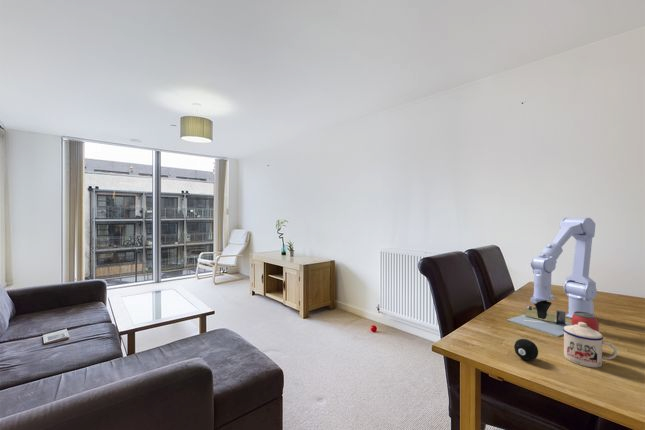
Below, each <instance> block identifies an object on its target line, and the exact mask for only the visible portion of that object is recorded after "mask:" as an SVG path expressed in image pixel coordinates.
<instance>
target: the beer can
mask: <svg viewBox="0 0 645 430" xmlns="http://www.w3.org/2000/svg"><path fill="white" fill-rule="evenodd" d="M579 322H583V323H586V324H587V327H590V328H591V329H593V330H595V331H597V332H599V331H600V327H599V326H600V323H599V320H598V319H597V315H595V314H591V313H586V312H579V311H576V312H574V314H573V316H572V318H571V324H572V325H578V323H579ZM599 333H600V332H599Z"/></svg>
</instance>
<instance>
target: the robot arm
mask: <svg viewBox="0 0 645 430" xmlns="http://www.w3.org/2000/svg"><path fill="white" fill-rule="evenodd" d="M559 228H560V229H559V231H558V233H557V234H556V236H555V238H554V239H553V241H552V242H551V243H547V244H546V245H545V247H544V248H543V250H542V251H541V252H540V254H539V255H538V256H536V257H533V258H532V260H531V262H530V267H531V269H532V274H533V295H532V297H530V300H529V301H530V303H533V305H534V307H536V309H537V315H538V318H541V319H545V318H546V314H547V312H548V311H549V309H550V307H551V306H552V302H553V301H555V297H554V295H553V294H552V273H553V272H554V271H555V270H556V267H557V260H558V259H559V257H560V256H561V254H562V253H563V252H564V251H563V246H564V245H565V244H566V243H567V242H568V240H569V239H570V238H571V237H573V239H575V245H574V254H573V255H574V256H573V263H572V264H573V266H572V274H570V275H568V276H566V277H565V282H564V283H563V286H562V287H563V288H562V289H563V291H564V293H565V294H566V296H567V297H568V313H567V314H565V318H570V319H572V316H573V314H574V312H576V311H579V312H586V313H591V314H594V310H595V309H594V306H595V305H594V301H593V300H594V299H595V298H596V297H597V296H598V295H597V294H598V290H597V285H596V284H597V282H595V280H593V279H592V278H591V277H590V275H589V274H590V264H591V255H592V254H591V253H592V247H593V246H592V245H593V238H594V237H595V233H596V222H595V221H594V220H593V219H592V218H591V217H564V218H562V219H561V221H560V223H559ZM550 301H552V302H550ZM594 315H595V314H594Z"/></svg>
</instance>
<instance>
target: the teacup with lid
mask: <svg viewBox="0 0 645 430" xmlns="http://www.w3.org/2000/svg"><path fill="white" fill-rule="evenodd" d="M563 331H564V335H563V356H564V358H566V360H568V361H570V362H572V363H575V364H576V365H579V366H583V367H588V368H600V367H602V365H603V359H604V360H613V359H615V358H616V356H617V355H618V348H617V347H616V346H615V345H614V344H613V343H611V342H608V341H603V339H604V336H603V335H602V333H601V332H597V331H595V330H593V329H591V328H590V327H587V324H586V323H583V322H579V323H578V325H569V326H565V327H564V328H563ZM603 345H605V346H609V347H611V348H612V350H613V353H612V354H611V355H603Z"/></svg>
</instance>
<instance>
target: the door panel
mask: <svg viewBox="0 0 645 430" xmlns="http://www.w3.org/2000/svg"><path fill="white" fill-rule="evenodd" d="M506 321H508V322H510V323H512V324H513V323H514V324H517V325H520V326H522V327H525V328H528V329H529V328H530V329H533V330H536V331H539V332H542V333H545V334H549V335H551V336H555V337H556V338H557V337H558V338H559V337H561V336H564V331H563V328H564V327H565V326H562V325H558V324H556V323H555V322H556V318H555V322H550V321H546V320H541V319H537V318H532V317H528V316H525V313H524V314H521V315H517V316H514V317H511V318H508V319H506ZM565 323H566V324H567V326H569V325H572V322H567V321H565Z"/></svg>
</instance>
